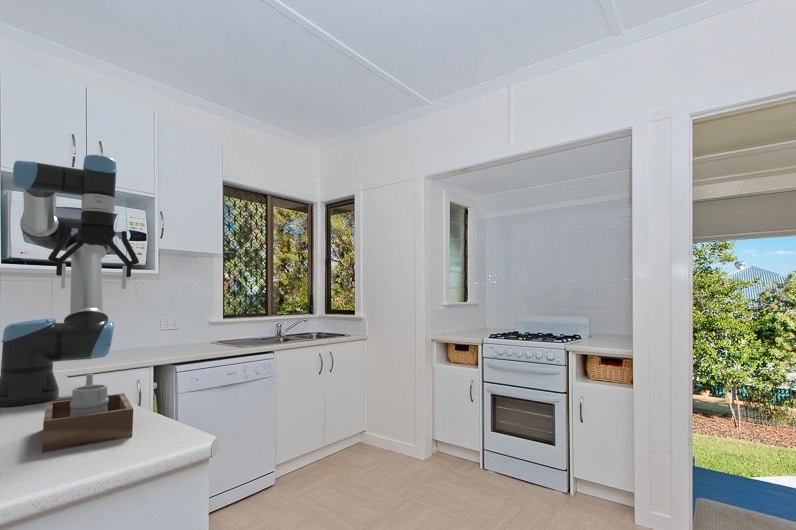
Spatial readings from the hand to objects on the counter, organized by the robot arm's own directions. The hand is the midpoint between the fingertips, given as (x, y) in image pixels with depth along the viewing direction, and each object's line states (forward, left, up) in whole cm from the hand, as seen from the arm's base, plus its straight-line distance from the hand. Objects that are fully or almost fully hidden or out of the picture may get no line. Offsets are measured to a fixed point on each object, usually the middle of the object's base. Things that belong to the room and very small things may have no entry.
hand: (94, 288), depth 117 cm
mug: (+22, -1, -32) cm, 39 cm away
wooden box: (+22, -1, -33) cm, 39 cm away
